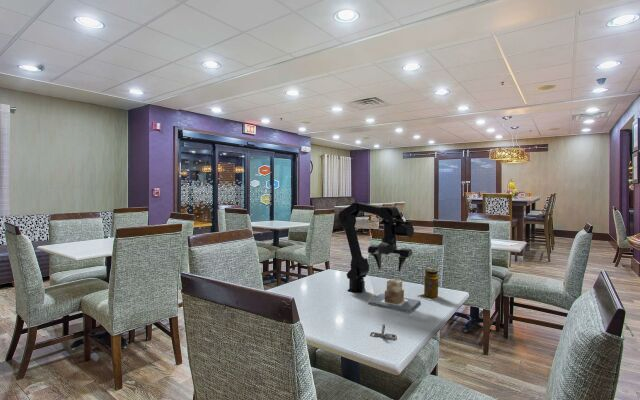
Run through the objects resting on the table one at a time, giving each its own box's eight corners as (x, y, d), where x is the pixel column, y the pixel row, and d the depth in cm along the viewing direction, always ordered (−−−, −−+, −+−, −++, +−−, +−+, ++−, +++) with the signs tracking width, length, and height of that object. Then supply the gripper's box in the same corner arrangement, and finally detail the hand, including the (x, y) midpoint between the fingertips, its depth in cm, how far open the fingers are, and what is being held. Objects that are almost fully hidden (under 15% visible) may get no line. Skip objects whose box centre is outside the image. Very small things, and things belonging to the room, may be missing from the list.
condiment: (442, 297, 158) (442, 271, 158) (429, 300, 154) (430, 273, 153) (429, 293, 165) (429, 268, 164) (416, 296, 160) (417, 270, 159)
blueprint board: (368, 304, 148) (368, 301, 148) (380, 295, 160) (381, 293, 160) (409, 312, 139) (409, 309, 139) (420, 302, 150) (420, 300, 150)
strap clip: (397, 337, 116) (397, 324, 116) (395, 341, 113) (395, 328, 113) (371, 333, 119) (371, 321, 119) (369, 336, 116) (369, 324, 116)
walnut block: (384, 301, 148) (384, 291, 148) (390, 297, 154) (390, 287, 154) (398, 304, 145) (398, 293, 145) (403, 299, 151) (403, 289, 151)
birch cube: (386, 290, 149) (386, 281, 148) (391, 288, 153) (391, 279, 153) (397, 292, 146) (398, 283, 146) (402, 290, 150) (402, 280, 150)
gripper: (362, 235, 152) (362, 271, 153) (404, 239, 142) (403, 277, 143) (373, 232, 162) (372, 266, 162) (412, 236, 152) (412, 271, 152)
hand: (389, 270), depth 154 cm, fingers open, 9 cm apart
